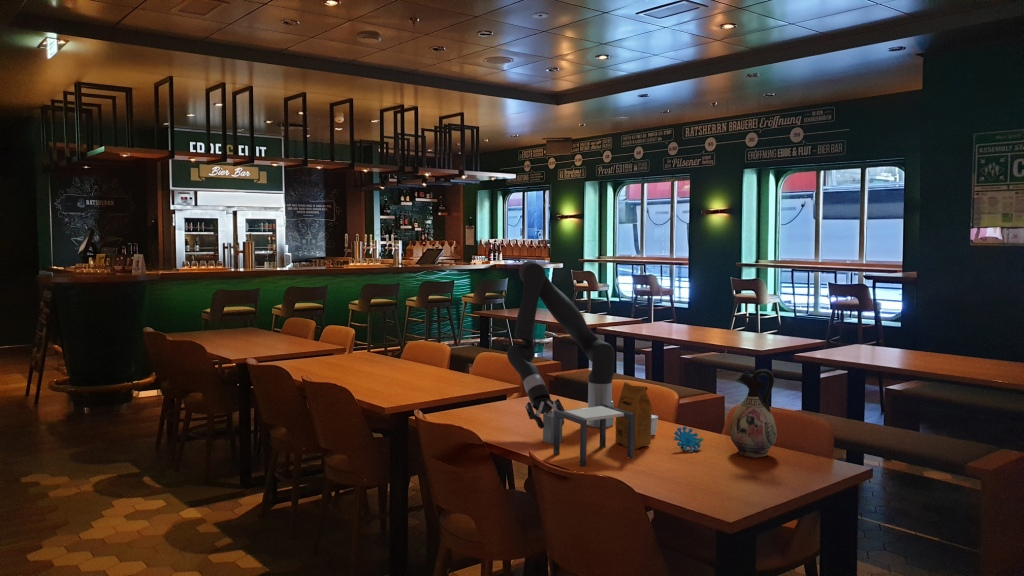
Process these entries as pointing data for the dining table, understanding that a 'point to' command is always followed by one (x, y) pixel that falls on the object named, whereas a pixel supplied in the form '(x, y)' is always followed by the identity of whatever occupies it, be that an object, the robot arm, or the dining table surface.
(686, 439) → the blue knobbed toy
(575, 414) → the trapdoor
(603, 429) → the frame
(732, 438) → the ceramic jug
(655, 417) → the shot glass
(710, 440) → the dining table surface
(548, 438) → the grey rectangular block
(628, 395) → the coffee package
